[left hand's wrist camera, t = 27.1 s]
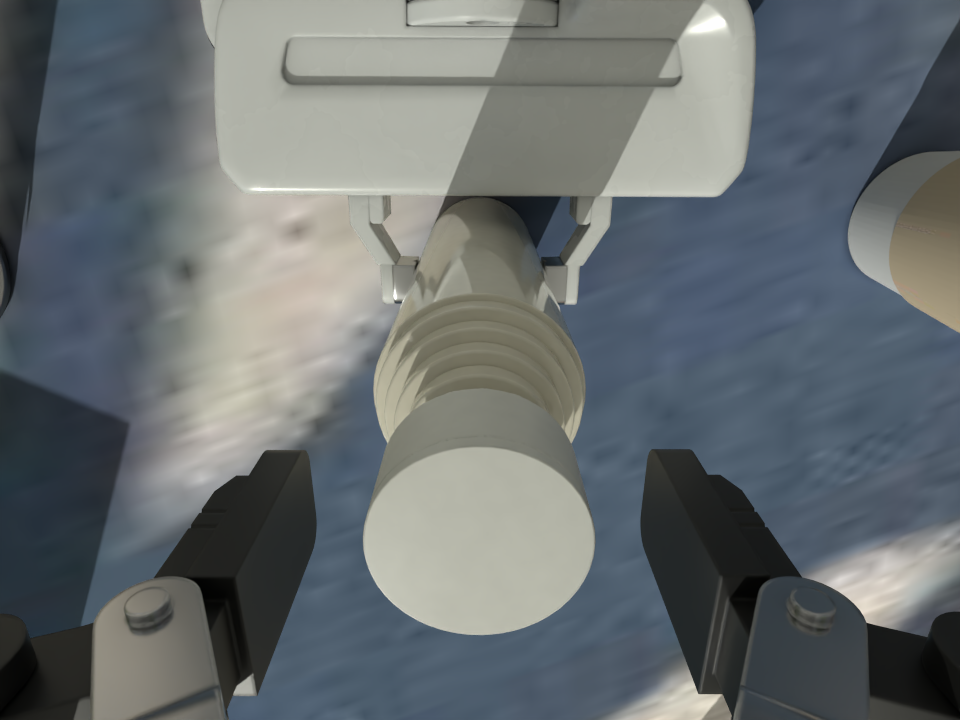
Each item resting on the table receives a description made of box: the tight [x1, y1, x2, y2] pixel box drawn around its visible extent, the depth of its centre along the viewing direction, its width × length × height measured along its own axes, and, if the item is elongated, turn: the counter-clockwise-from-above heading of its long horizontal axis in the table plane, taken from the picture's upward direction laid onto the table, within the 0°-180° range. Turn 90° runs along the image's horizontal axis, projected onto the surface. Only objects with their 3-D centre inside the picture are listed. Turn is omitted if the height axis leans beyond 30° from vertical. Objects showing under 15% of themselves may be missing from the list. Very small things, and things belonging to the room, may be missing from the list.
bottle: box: [374, 197, 586, 443], centre depth 22 cm, size 6×6×24 cm
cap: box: [363, 388, 595, 635], centre depth 11 cm, size 4×4×2 cm
